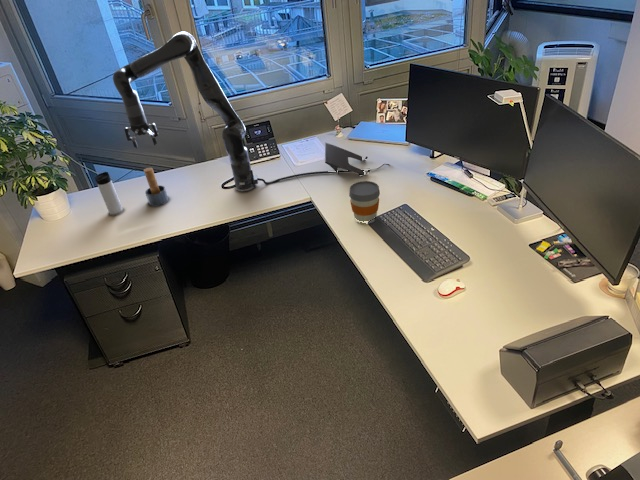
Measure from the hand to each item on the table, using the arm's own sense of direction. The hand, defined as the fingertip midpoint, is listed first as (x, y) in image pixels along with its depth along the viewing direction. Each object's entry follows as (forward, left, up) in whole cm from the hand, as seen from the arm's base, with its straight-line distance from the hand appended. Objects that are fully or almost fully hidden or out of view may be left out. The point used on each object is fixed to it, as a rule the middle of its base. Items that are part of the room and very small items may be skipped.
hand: (146, 146), depth 222 cm
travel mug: (+22, +11, -25) cm, 35 cm away
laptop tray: (-92, +26, -25) cm, 99 cm away
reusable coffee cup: (-81, +72, -25) cm, 111 cm away
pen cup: (+2, +11, -25) cm, 27 cm away
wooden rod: (+2, +11, -24) cm, 26 cm away
